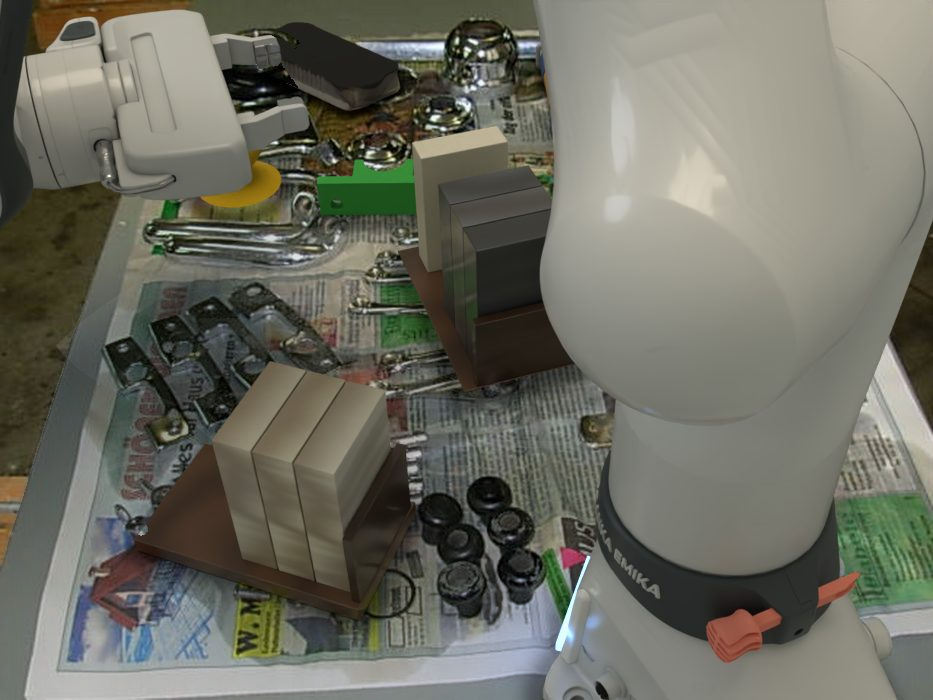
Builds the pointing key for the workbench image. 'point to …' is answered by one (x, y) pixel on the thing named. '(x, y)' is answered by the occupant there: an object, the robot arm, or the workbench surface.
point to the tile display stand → (293, 494)
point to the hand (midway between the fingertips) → (292, 79)
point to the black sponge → (336, 67)
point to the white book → (450, 178)
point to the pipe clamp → (369, 191)
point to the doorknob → (251, 186)
